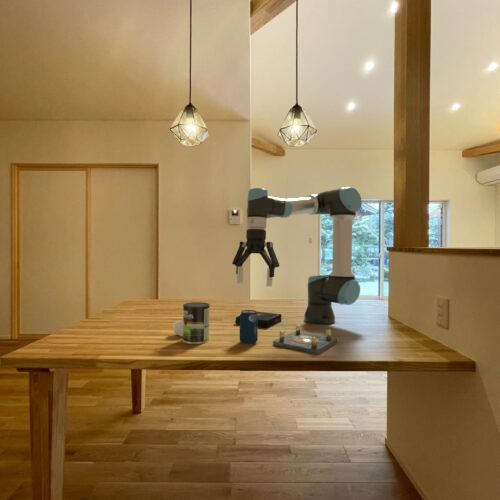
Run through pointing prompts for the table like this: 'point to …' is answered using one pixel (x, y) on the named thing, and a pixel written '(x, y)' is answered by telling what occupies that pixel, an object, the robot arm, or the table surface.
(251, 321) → the soda can
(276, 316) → the portable cd player
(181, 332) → the duck figurine
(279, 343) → the chassis plate
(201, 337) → the coffee can
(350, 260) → the robot arm
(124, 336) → the table surface
